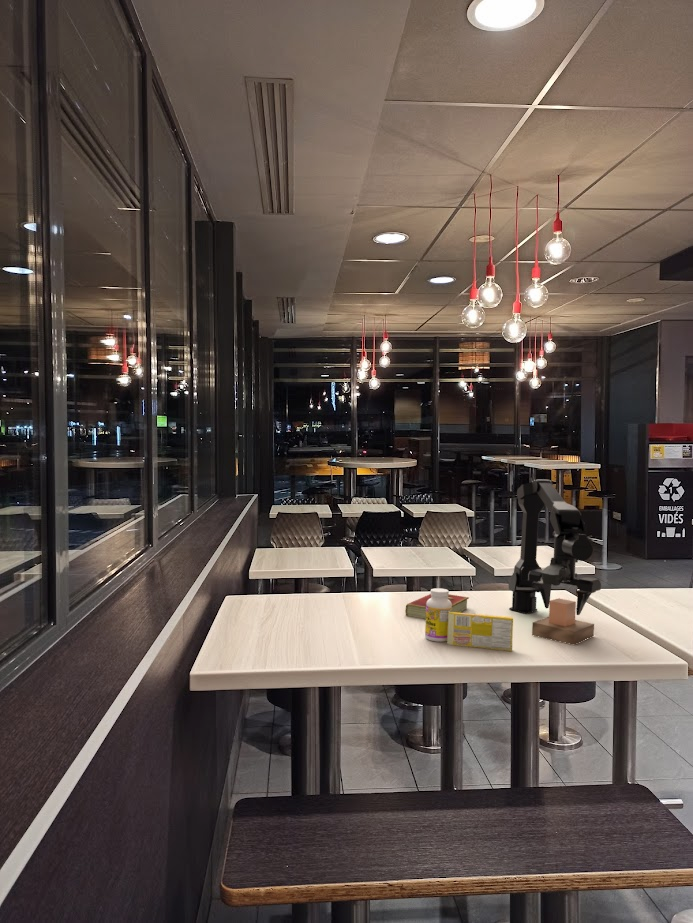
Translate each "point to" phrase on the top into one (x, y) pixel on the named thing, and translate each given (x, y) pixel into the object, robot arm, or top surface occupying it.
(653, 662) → the top surface
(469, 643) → the candy box
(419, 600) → the hardcover book
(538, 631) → the walnut block
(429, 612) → the supplement bottle
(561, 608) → the pink clay cube
